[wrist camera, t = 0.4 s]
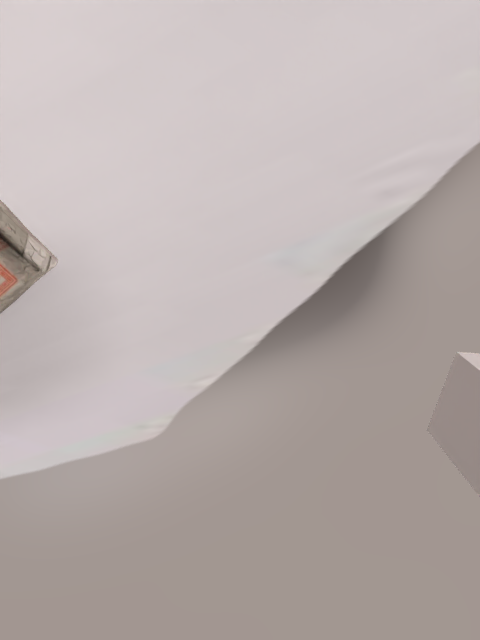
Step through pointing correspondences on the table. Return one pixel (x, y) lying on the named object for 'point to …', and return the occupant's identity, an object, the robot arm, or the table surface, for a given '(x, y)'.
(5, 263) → the packaged product
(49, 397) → the table surface
